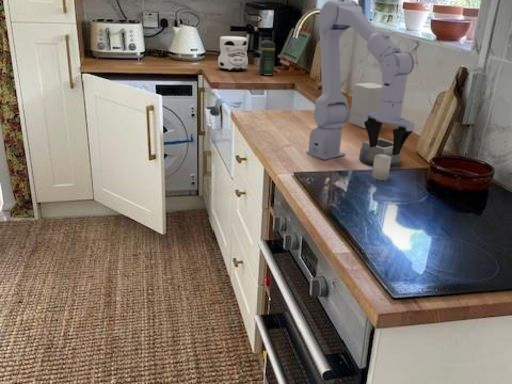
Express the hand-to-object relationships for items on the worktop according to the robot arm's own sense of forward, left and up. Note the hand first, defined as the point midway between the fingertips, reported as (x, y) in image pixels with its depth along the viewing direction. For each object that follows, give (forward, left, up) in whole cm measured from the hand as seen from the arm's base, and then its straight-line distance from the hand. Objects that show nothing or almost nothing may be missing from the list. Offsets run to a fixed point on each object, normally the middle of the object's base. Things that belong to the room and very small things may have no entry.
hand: (384, 150), depth 132 cm
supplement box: (+40, +39, -8) cm, 56 cm away
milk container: (+64, +159, -8) cm, 172 cm away
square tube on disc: (+11, +9, -8) cm, 16 cm away
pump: (0, 0, -8) cm, 8 cm away
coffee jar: (+72, +138, -8) cm, 156 cm away
